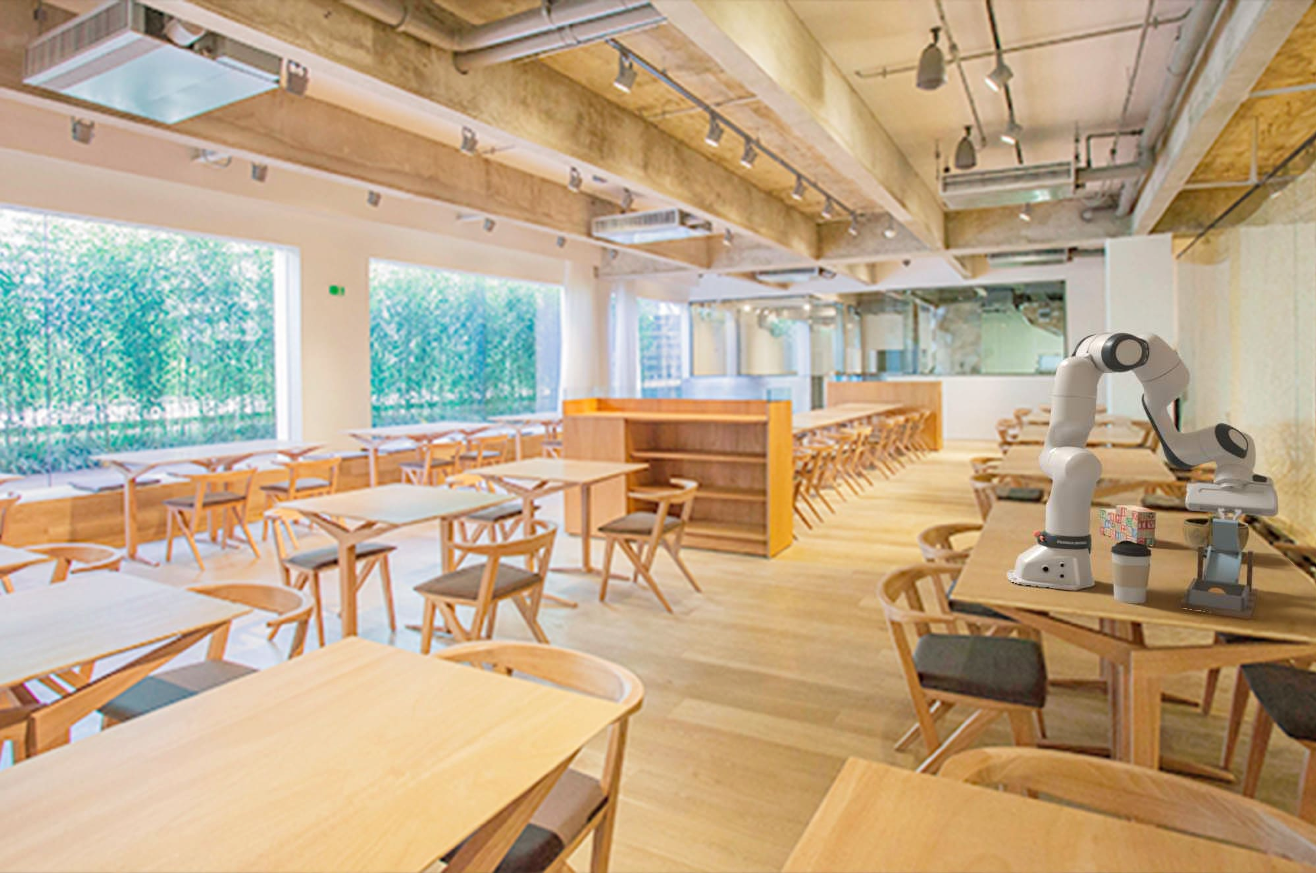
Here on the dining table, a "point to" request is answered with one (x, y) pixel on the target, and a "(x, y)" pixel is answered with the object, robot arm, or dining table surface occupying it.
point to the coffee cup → (1130, 571)
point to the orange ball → (1216, 590)
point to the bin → (1218, 595)
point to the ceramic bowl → (1208, 532)
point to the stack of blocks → (1129, 524)
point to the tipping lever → (1224, 554)
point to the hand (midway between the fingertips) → (1228, 524)
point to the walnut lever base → (1225, 612)
